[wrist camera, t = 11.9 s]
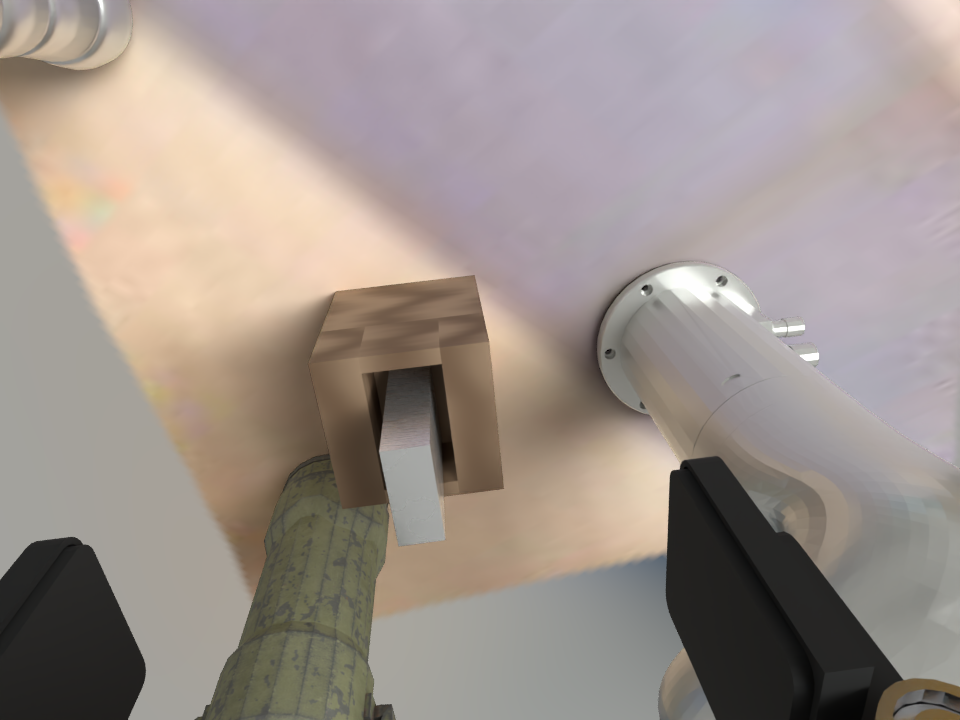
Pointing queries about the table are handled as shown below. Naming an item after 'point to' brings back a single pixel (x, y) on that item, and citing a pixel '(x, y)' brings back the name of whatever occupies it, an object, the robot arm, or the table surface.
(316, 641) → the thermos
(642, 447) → the table surface
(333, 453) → the slotted wooden block
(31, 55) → the plastic bottle
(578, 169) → the table surface
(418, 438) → the white block
